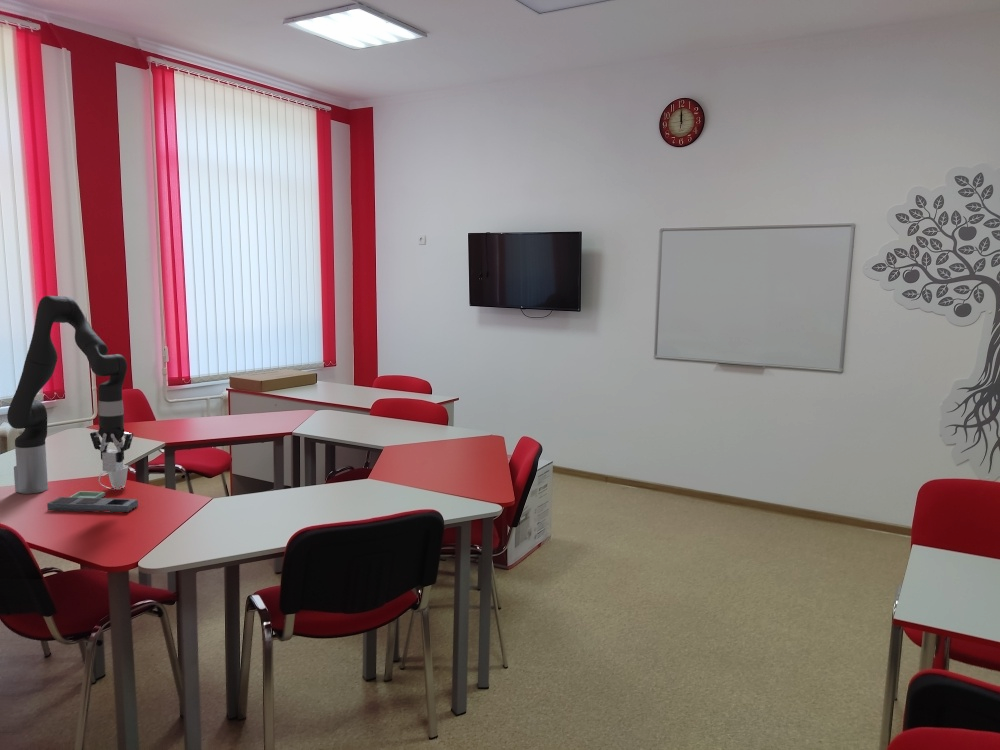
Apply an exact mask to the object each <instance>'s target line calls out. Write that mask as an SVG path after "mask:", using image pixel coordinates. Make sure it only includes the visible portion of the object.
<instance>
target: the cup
mask: <svg viewBox="0 0 1000 750" xmlns="http://www.w3.org/2000/svg"><path fill="white" fill-rule="evenodd" d="M128 469H129V465H127V464H126V465H125V464H123V468H122V469H120V470H118V471H117V472H111V471H102V472H101V473H100V474H99V476H98V483H99V484H100V486H102V487H103V488H106V489H107V490H112V489H111V488H114V489H113V490H115V489H116V490H122V489H121V488H123V489H125V488H126V482H127V478H128ZM103 474H108V477H109V483H110V484H111V487H108V486H107V485H104V484H102V483H101V477H102V475H103ZM120 486H122V487H120ZM115 487H116V488H115ZM119 487H120V488H119ZM124 487H125V488H124Z"/></svg>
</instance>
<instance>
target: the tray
mask: <svg viewBox="0 0 1000 750" xmlns="http://www.w3.org/2000/svg"><path fill="white" fill-rule="evenodd" d="M104 496H105V497H106V491H92V490H91V491H88V490H87V491H85V490H80V491H78V492H76V493H74V494H72V495H71V496H69V497H78V498H102V497H103V498H105V497H104Z"/></svg>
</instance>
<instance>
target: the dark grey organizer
mask: <svg viewBox="0 0 1000 750" xmlns="http://www.w3.org/2000/svg"><path fill="white" fill-rule="evenodd" d="M46 504H47V511H48V510H53V511H52V512H55V511H57V512H79V511H110V512H109V513H113V512H128V513H130V512H131V511H133V510H134V509H136V508H138V506H139V502H138V498H135V499H134V498H109V497H108V498H107V497H103V498H78V497H70V496H59V497H57V498H55V499H53V500H52V501H51V500H50V501H49V502H47V503H46ZM135 507H136V508H135ZM133 508H134V509H133ZM132 509H133V510H132ZM61 510H62V511H61ZM65 510H66V511H65ZM130 510H131V511H130ZM129 511H130V512H129Z"/></svg>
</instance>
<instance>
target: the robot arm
mask: <svg viewBox="0 0 1000 750" xmlns="http://www.w3.org/2000/svg"><path fill="white" fill-rule="evenodd" d="M35 314H36V315H35V320H34V321H35V322H34V327H33V333H32V337H31V340H30V344H29V348H28V351H27V353H26V357H25V361H24V364H23V367H22V372H21V375H20V379H19V381H18V385H17V388H16V390H15V393H14V394H13V398H12V400H11V401H10V404H9V407H8V409H7V414H6V419H7V423H8V425H9V426H10V427H11V428H13V429H16V430H21V429H24V430H23V432H22V433H20V435H18V436H16V438H15V439H14V449H15V450H14V451H15V463H16V465H15V466H14V467H13V477H14V478H13V479H14V492H15V493H19V494H22V495H23V494H24V495H28V494H30V495H31V494H38V493H42V492H45V491H47V490H48V489H49V483H48V482H49V481H48V466H47V465H48V464H47V463H48V461H47V449H46V448H47V447H46V439H47V437H48V436H47V435H48V411H47V408H46V406H45V404H44V403H42V401H39V400H35V399H36V396H37V395H38V393H39V392H40V391H41V389H43V387H45V385H46V384H47V383H48V382H49V381H50V379H52V376H53V375H54V373H55V369H56V367H57V363H58V358H59V357H58V353H57V349H56V347H55V344H54V343H53V340H52V337H51V334H52V327H53V324H54V323H55V324H56V323H64V324H65V323H66V324H68V325H70V326H71V327H73V328H74V341H75V344H76V346H77V347H78V348H79V350H80V351H81V352H82V353H83V354H84V355H85V356H86V358H87V361H88V363H89V366H90V368H91V371H92V373H93V374H95V375H96V376H98V377H109V378H108V380H107V381H104V382H101V383H100V384H99V385H98V389H97V390H98V393H97V394H98V406H97V412H98V413H97V415H98V428H99V429H98V430H95V431H92V432H90V433H89V435H90V439H91V442H92V444H93V447H94V449H95V450H98V451H99V452H100V460H101V461H102V452H105V451H107V450H108V447H109V444H110V443H112V444H114V447H115V448H116V450H117V451H118V452H117V459H118V463H120V462H122V461H123V462H124V460H125V452H126V451H127V450H129V449H130V448H131V446H132V442H133V437H134V433H133V432H130V433H129V432H127V431H126V430H125V428H124V427H125V420H124V419H125V417H124V413H125V410H124V402H123V385H124V382H125V378H126V374H127V370H128V363H127V359H126V358H125V356H124V355H122V354H119V353H115V354H108V352H109V348H108V346H107V344H106V343H105V342H104V341H103V340H102V339H101V337H100V336H98V334H97V333H96V332H95V331H94V329H93V328H92V326H91V324H90V323H89V321H88V319H87V318H86V316H85V314H84V312H83V311H82V309H81V307H80V306H79V304H78V303H77V302H76V300H75V299H73V298H71V297H69V296H57V295H45V296H43V297H41V299H40V300H39V302H38V306H37V309H36V312H35ZM100 437H101V439H100ZM123 437H124V440H123Z"/></svg>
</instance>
